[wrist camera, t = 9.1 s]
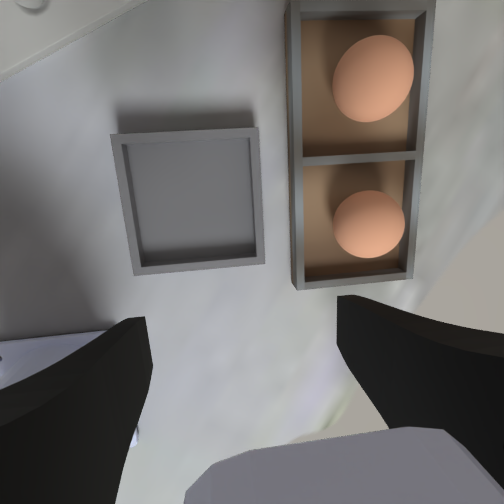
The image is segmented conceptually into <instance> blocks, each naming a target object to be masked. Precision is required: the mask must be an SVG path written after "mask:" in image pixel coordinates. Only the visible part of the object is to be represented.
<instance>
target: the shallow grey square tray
mask: <svg viewBox="0 0 504 504" xmlns="http://www.w3.org/2000/svg"><path fill="white" fill-rule="evenodd" d="M110 138H111V144H112V150H113V156H114V162H115V168H116V174H117V179H118V185H119V191H120V197H121V203H122V209H123V215H124V221H125V227H126V232H127V238H128V244H129V250H130V256H131V262H132V268H133V274H134V276H139V275H150V274H161V273H172V272H183V271H193V270H204V269H215V268H226V267H237V266H248V265H259V264H265V248H264V228H263V208H262V188H261V168H260V148H259V128H258V127H252V128H231V129H211V130H190V131H169V132H148V133H127V134H110Z"/></svg>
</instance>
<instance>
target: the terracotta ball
mask: <svg viewBox="0 0 504 504" xmlns="http://www.w3.org/2000/svg"><path fill="white" fill-rule="evenodd" d="M404 228H405V219H404V214H403V211H402V209H401V207H400V206H399V204H398V203H397V202H396V201H395V200H394V199H393V198H392V197H390V196H389V195H387V194H385V193H383V192H379V191H374V190H366V191H361V192H357V193H355V194H352V195H351V196H349V197H347V198H346V199H345V200H344V201H343V202H342V203H341V204H340V205H339V207H338V208H337V210H336V212H335V215H334V218H333V233H334V236H335V238H336V240H337V242H338V244H339V245H340V246H341V247H342V248H343V249H344V250H345V251H347V252H348V253H350V254H352V255H354V256H357V257H361V258H374V257H378V256H381V255H384V254H386V253H388V252H389V251H391V250H392V249H393V248H394V247H395V246H396V245H397V244H398V243H399V241H400V239H401V237H402V235H403V232H404Z"/></svg>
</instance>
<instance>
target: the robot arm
mask: <svg viewBox="0 0 504 504" xmlns="http://www.w3.org/2000/svg"><path fill="white" fill-rule="evenodd" d="M337 346H338V348H339V350H340V352H341V354H342V356H343V358H344V360H345V362H346V364H347V366H348V368H349V369H350V371H351V372H352V374H353V375H354V377H355V378H356V380H357V381H358V383H359V384H360V385H361V387H362V388H363V390H364V391H365V393H366V394H367V396H368V397H369V399H370V400H371V401H372V403H373V404H374V406H375V407H376V409H377V410H378V412H379V413H380V415H381V416H382V418H383V419H384V421H385V422H386V424H387V425H388V427H389V429H387V430H380V431H374V432H368V433H360V434H354V435H347V436H341V437H335V438H327V439H321V440H315V441H307V442H301V443H294V444H288V445H281V446H274V447H268V448H261V449H254V450H249V451H246V452H243V453H241V454H238V455H235V456H233V457H230V458H227V459H224V460H222V461H219V462H216V463H214V464H213V465H211V466H210V467H209V468H208V469H207V470H206V471H205V472H204V473H203V474H202V475H201V476H200V477H199V478H198V480H197V481H196V482H195V483H194V484H193V485H192V486H191V487H190V488H189V489H188V490H187V491H186V493H185V499H184V504H504V334H502V333H496V332H489V331H483V330H477V329H471V328H466V327H461V326H457V325H453V324H448V323H444V322H440V321H436V320H432V319H429V318H425V317H422V316H419V315H415V314H412V313H409V312H406V311H403V310H400V309H397V308H394V307H391V306H388V305H385V304H382V303H380V302H377V301H374V300H371V299H368V298H365V297H361V296H357V295H345V296H337ZM0 356H1V357H2V359H0V504H115V501H116V497H117V493H118V488H119V484H120V480H121V475H122V471H123V467H124V463H125V460H126V457H127V453H128V450H129V448H131V447H134V446H136V445H137V443H138V433H137V424H138V421H139V418H140V415H141V412H142V409H143V406H144V403H145V400H146V397H147V394H148V390H149V385H150V380H151V375H152V369H153V362H152V356H151V350H150V344H149V338H148V332H147V326H146V320H145V316H144V317H134V318H127V319H125V320H123V321H121V322H119V323H118V324H116V325H115V326H113V327H112V328H110V329H109V330H105V331H95V332H86V333H77V334H67V335H58V336H49V337H40V338H30V339H21V340H12V341H2V342H0Z"/></svg>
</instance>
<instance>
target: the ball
mask: <svg viewBox="0 0 504 504" xmlns="http://www.w3.org/2000/svg"><path fill="white" fill-rule="evenodd" d="M413 77H414V65H413V60H412V57H411V54H410V52H409V51H408V49H407V48H406V46H405V45H404V44H403V43H402V42H400V41H399V40H397V39H396V38H393V37H391V36H386V35H375V36H370V37H367V38H364V39H362V40H360V41H358V42H357V43H355V44H354V45H353V46H351V47H350V48H349V49H348V50H347V51H346V52H345V53H344V55H343V56H342V57H341V59H340V61H339V62H338V64H337V67H336V69H335V72H334V76H333V82H332V92H333V97H334V100H335V103H336V105H337V107H338V108H339V110H340V111H341V112H342V113H343V114H344V115H345V116H347V117H348V118H350V119H352V120H355V121H359V122H373V121H377V120H380V119H383V118H385V117H387V116H388V115H390V114H391V113H393V112H394V111H395V110H396V109H397V108H398V107H399V106H400V105H401V104H402V103H403V101H404V100H405V98H406V97H407V95H408V93H409V91H410V89H411V86H412V82H413Z"/></svg>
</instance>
